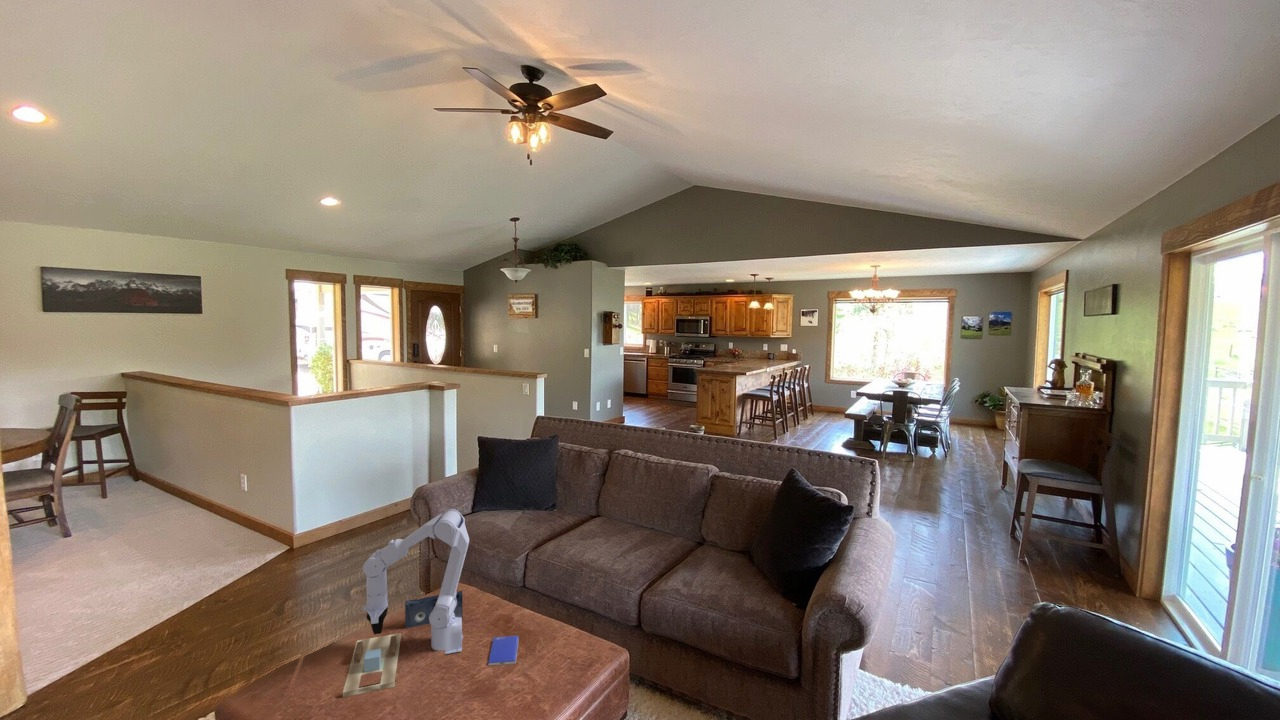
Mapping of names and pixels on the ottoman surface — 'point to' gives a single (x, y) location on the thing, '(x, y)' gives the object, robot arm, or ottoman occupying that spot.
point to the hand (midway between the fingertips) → (377, 632)
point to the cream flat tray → (388, 668)
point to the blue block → (372, 660)
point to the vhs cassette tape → (426, 610)
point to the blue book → (503, 650)
